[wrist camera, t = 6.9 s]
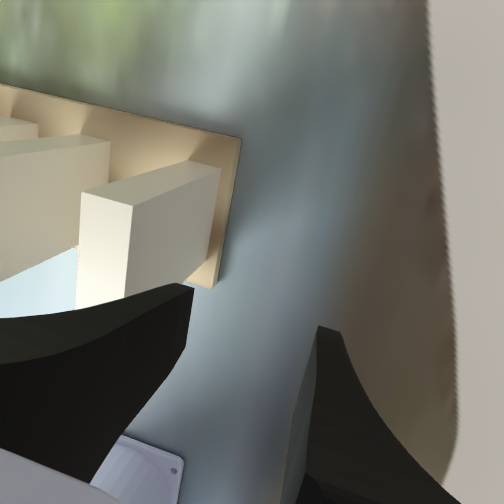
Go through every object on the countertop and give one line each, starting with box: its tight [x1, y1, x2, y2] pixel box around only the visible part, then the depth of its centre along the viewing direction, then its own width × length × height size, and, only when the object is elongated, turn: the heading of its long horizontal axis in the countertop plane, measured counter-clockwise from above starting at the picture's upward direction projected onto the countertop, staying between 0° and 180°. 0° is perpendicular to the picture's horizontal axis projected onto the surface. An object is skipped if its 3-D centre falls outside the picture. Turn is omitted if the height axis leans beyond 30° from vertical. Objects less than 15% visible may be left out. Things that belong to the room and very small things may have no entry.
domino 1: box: [0, 134, 111, 282], centre depth 19 cm, size 5×2×8 cm, turn 169°
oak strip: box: [0, 83, 242, 289], centre depth 24 cm, size 8×24×1 cm, turn 79°
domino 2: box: [75, 160, 222, 310], centre depth 18 cm, size 5×2×8 cm, turn 169°
